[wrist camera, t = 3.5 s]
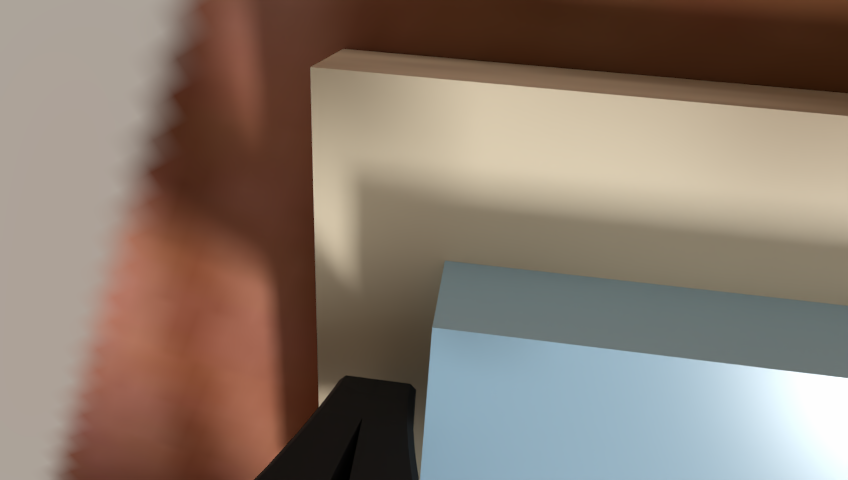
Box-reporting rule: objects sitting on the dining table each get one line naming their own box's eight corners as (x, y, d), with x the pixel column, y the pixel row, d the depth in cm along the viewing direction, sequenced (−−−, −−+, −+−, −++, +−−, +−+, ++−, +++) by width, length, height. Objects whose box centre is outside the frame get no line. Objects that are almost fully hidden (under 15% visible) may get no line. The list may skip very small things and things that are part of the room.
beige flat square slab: (789, 564, 15) (828, 647, 13) (342, 495, 16) (322, 563, 14) (1047, 110, 9) (1175, 145, 8) (343, 49, 10) (310, 66, 9)
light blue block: (1003, 323, 9) (1126, 411, 7) (851, 560, 12) (915, 668, 10) (444, 260, 10) (432, 327, 8) (424, 497, 12) (410, 587, 11)
